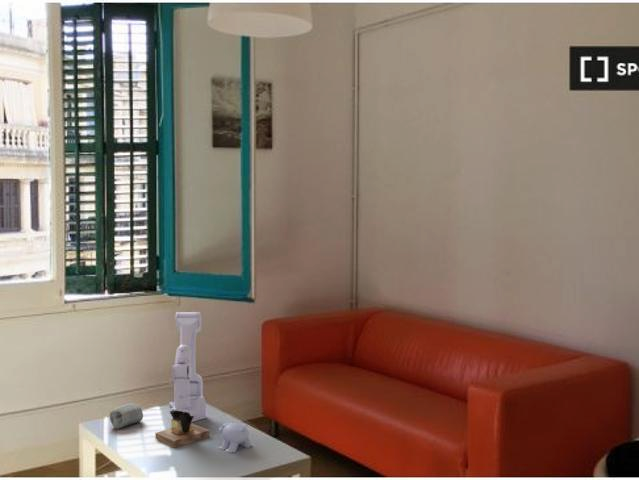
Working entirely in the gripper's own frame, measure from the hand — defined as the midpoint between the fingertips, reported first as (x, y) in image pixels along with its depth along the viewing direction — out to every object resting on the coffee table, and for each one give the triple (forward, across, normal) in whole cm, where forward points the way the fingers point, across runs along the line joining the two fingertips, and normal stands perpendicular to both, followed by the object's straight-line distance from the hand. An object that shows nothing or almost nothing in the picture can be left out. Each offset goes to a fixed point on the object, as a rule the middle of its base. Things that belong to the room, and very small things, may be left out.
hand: (182, 430), depth 286 cm
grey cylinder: (+3, -28, -7) cm, 29 cm away
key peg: (+2, 0, 0) cm, 2 cm away
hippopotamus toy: (+3, +20, +8) cm, 22 cm away
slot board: (+3, 0, 0) cm, 3 cm away
